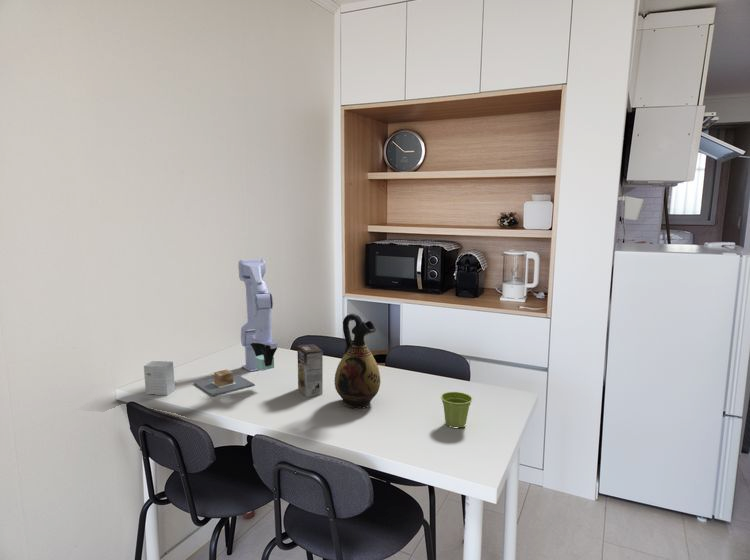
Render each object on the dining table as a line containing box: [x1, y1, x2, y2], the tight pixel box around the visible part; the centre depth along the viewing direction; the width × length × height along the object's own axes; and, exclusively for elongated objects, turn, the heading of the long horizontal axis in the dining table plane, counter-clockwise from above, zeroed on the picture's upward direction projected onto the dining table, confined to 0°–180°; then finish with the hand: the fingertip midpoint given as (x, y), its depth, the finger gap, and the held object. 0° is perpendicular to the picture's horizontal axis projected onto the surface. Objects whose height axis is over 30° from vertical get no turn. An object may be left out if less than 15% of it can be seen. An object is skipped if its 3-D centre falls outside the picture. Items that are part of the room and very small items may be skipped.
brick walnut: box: [213, 369, 234, 387], centre depth 182 cm, size 5×5×4 cm
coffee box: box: [296, 343, 324, 398], centre depth 175 cm, size 9×6×16 cm
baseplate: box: [193, 372, 256, 397], centre depth 182 cm, size 16×16×1 cm
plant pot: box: [440, 391, 473, 428], centre depth 150 cm, size 9×9×9 cm
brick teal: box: [254, 355, 275, 372], centre depth 179 cm, size 5×5×4 cm
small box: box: [143, 360, 176, 396], centre depth 174 cm, size 8×6×10 cm
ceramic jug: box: [334, 313, 381, 409], centre depth 165 cm, size 17×15×30 cm
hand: (264, 363), depth 179 cm, fingers closed on brick teal, 5 cm apart
